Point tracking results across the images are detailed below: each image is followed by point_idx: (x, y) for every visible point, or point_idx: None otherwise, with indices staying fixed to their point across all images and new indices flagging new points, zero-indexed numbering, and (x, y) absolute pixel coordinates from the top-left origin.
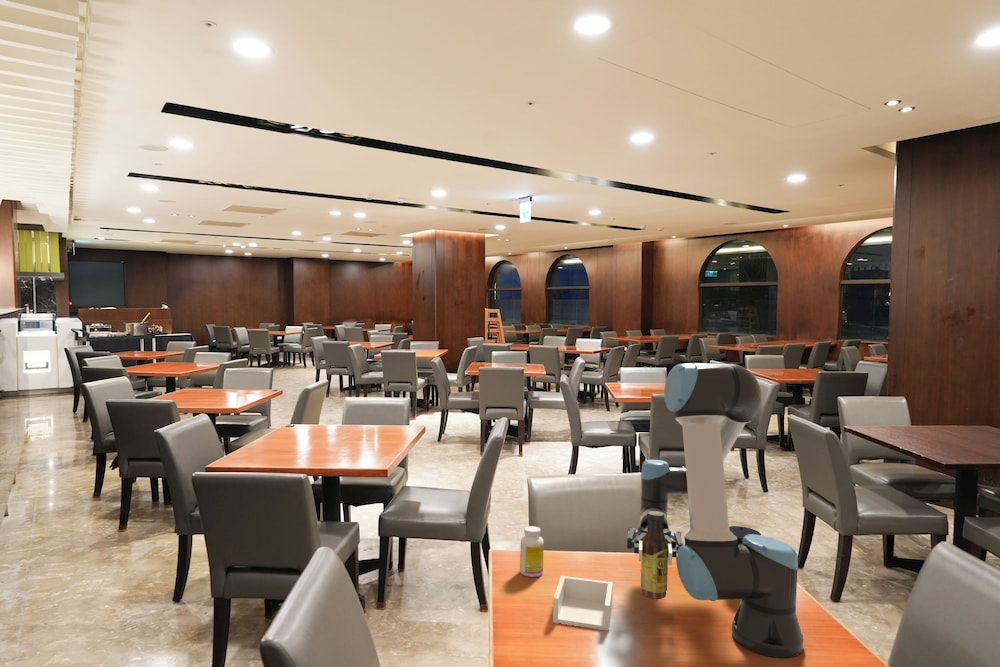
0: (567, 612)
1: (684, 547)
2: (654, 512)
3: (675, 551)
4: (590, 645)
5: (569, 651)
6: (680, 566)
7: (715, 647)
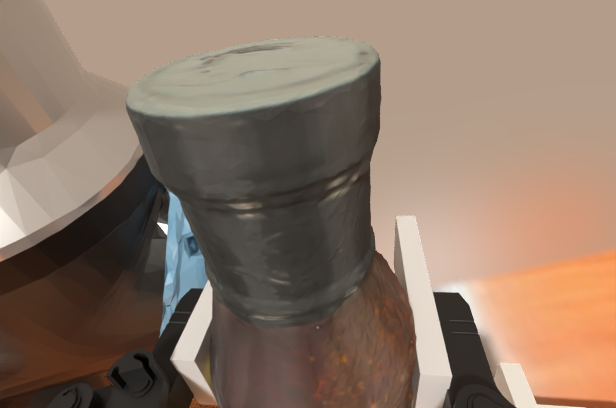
0: None
1: None
2: (262, 68)
3: (192, 289)
4: (500, 322)
5: (533, 290)
6: None
7: None
